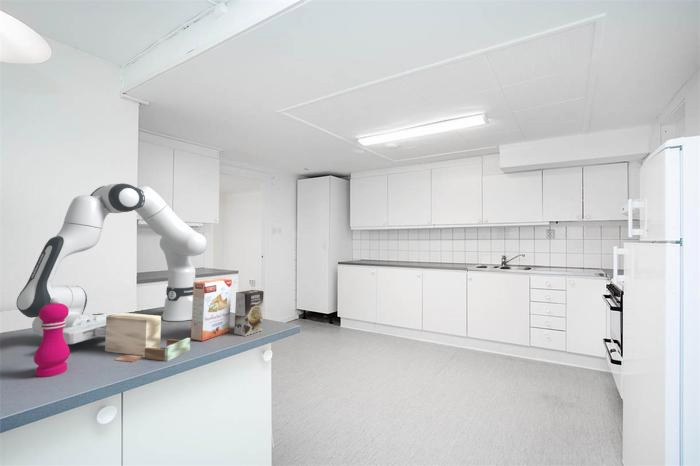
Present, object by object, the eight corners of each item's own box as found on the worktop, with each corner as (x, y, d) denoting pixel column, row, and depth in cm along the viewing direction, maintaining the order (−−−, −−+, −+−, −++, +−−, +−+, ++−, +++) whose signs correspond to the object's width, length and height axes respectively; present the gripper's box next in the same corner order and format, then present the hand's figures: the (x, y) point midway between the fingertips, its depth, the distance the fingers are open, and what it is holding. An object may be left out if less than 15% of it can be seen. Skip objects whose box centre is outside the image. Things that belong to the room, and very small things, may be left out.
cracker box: (202, 342, 118) (205, 282, 118) (190, 339, 120) (192, 281, 121) (230, 332, 131) (232, 278, 131) (218, 330, 133) (220, 277, 134)
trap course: (143, 341, 117) (144, 329, 117) (196, 346, 113) (197, 334, 113) (98, 358, 100) (98, 344, 100) (158, 365, 96) (159, 351, 96)
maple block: (121, 345, 112) (122, 312, 112) (159, 349, 109) (161, 315, 109) (105, 351, 106) (106, 316, 106) (145, 355, 103) (146, 320, 103)
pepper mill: (67, 374, 89) (70, 298, 89) (30, 380, 84) (33, 301, 85) (70, 365, 94) (73, 294, 95) (35, 370, 90) (38, 296, 91)
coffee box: (245, 336, 126) (246, 293, 126) (233, 333, 129) (235, 291, 129) (263, 331, 134) (264, 290, 134) (251, 328, 137) (252, 289, 137)
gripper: (46, 326, 102) (83, 330, 99) (107, 312, 122) (139, 315, 119) (45, 347, 102) (82, 351, 99) (106, 329, 122) (139, 332, 119)
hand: (114, 331), depth 109 cm, fingers closed, pressing on maple block
